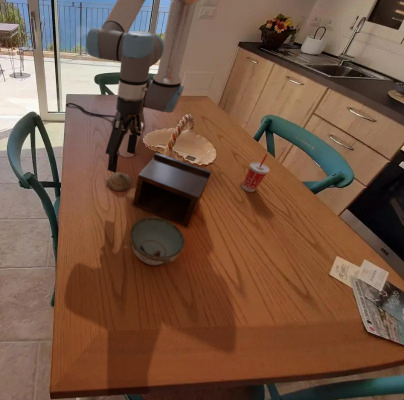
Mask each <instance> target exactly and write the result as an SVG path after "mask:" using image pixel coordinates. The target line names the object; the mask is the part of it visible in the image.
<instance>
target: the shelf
mask: <svg viewBox="0 0 404 400" xmlns="http://www.w3.org/2000/svg"><path fill="white" fill-rule="evenodd" d="M211 175H212V170H209V169H206V168H203V167H200V166H198V165H194V164H191V163H188V162H186V161H183V160H179V159H176V158H173V157H170V156H168V155H164V154H163V153H159V152H155V153H154V154H153V157H152V158H151V160H150V161H149V162H148V163H147V164H146V166H144V168H143V169H142V170H141V171H140V172H139V173H138V176H137V182H136V186H135V191H134V197H133V200H132V201H133V202H132V205H133V206H135V207H137V208H139V209H142V210H144V211H146V212H149V213H151V214H154V215H155V216H157V217H160V218H163V219H165V220H168V221H170V222H171V223H175V224H176V225H177V224H178V225H180V226H181V227H184V228H188V226H189V224H190V223H191V221H192V219H193V216H194V214H195V211H196V210H197V208H198V205H199V203H200V201H201V199H202V196H203V194H204V192H205V189H206V187H207V184H208V182H209V180H210V177H211Z"/></svg>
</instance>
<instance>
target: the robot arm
mask: <svg viewBox="0 0 404 400" xmlns="http://www.w3.org/2000/svg"><path fill="white" fill-rule="evenodd" d="M199 1H200V0H170V4H169V9H168V13H167V14H168V15H167V20H166V25H165V31H164V37H163V39H162V38H161V37H160V36H159V35H157V34H154V33H151V32H149V31H144V30H143V31H141V30H131V28H132V26H133V24H134V22H135V20H136V19H137V16H138V15H139V13H140V11H141V9H142V7H143V5H144V3H145V2H146V0H116V2H115V4H114V5H113V7H112V9H111V11H110V12H109V14H108V16H107V18H106V19H105V21H104V23H103V24H102V26H101V28H100V27H93V28H90V29H89V30H88V32H87V35H86V39H85V48H86V53H87V54H88V55H89V56H90V57H93V58H97V59H99V60H107V61H111V62H112V61H113V62H119V63H120V68H119V69H120V71H119V79H118V88H117V95H118V96H117V97H116V106H115V107H116V108H115V109H116V112H115V115H111V114H101V113H94V112H90V111H88V110H86V109H85V108H84V107H82V106H81V105H78V104H76V103H74V102H68V103H66V104H65V106H67V107H68V106H70V105H72V106H73V107H74V106H75V107H77V108H79V109H81V110H82V111H83V112H84V113H86V114H87V115H88V114H89V115H92V116H98V117H106V118H113V119H112V120H113V121H112V128H111V132H110V136H109V138H108V142H107V145H106V149H105V154H106V155H108V161H107V171H109V172H111V173H117V170H118V162H119V155H120V154H119V148H120V145H121V143H122V140H123V138H124V136H125V134H127V133H128V130H129V129H130V132H131V134H132V135H131V134H130V135H129V141H128V148H127V152H128V153H131V154H134V155H135V154H136V150H137V147H136V143H137V136H140V137H141V136H142V132H141V129H142V128H141V122H142V123H143V129H144V128H145V125H146V121H145V113H144V108H146V109H149V110H153V111H158V112H161V113H168V114H171V113H173V112H174V111H175V110H176V108H177V105H178V103H179V101H180V99H181V97H182V94H183V91H184V89H185V88H184V85H183V84H181V83H182V78H181V76H180V73H181V68H182V63H183V59H184V55H185V49H186V46H187V42H188V38H189V33H190V30H191V26H192V20H193V17H194V14H195V13H194V12H195V9H196V5H197V3H198V2H199ZM130 30H131V31H130ZM158 62H159V63H158ZM157 63H158V67H157V73H156V74H154V75H153V76H152V79H150V74H149V73H150V68H151V67H152V66H154V65H155V64H157ZM122 129H123V130H122ZM143 129H142V130H143ZM139 132H141V133H139ZM135 149H136V150H135Z"/></svg>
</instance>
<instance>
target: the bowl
mask: <svg viewBox="0 0 404 400" xmlns="http://www.w3.org/2000/svg"><path fill="white" fill-rule="evenodd" d="M129 235H130V245H131V248H132V251H133V253H134V254H135V256H136V257H137V258H138V260H140V261H141V262H143V263H145V264H147V265H150V266H153V267H162V266H166V265H169V264H170V263H172V262H173V261H175V260H176V259H177V258H178V257H179V255H180V253H182V251H183V249H184V248H185V245H186V239H185V236H184V233H183V232H182V231H181V229H180V228H179V227H178V226H177V224H174V222H172V221H170V220H168V219H165V218H163V217H160V216H145V217H142V218H140V219H137V221H135V222H134V223H133V224H132V226H131V228H130V232H129Z"/></svg>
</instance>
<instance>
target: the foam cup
mask: <svg viewBox="0 0 404 400" xmlns="http://www.w3.org/2000/svg"><path fill="white" fill-rule="evenodd" d="M141 128H142V129H141V132H139V133H141V134H142V133H143V129H144V128H143V123H142V122H141ZM122 130H123V129H122ZM130 134H131V132H130V129H129V130H128V133H127V134H125V136H124V138H123V140H122V143H121V145H120V148H119V150H118V154H119V155H120V156H121V157H124V158H132V157H133V156H135V154H131V153H128V152H127V148H128V141H129V135H130ZM131 135H132V134H131ZM140 137H141V136H137V143H136V149H135V151H136V150H137V146H138V144H139V141H140Z"/></svg>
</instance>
